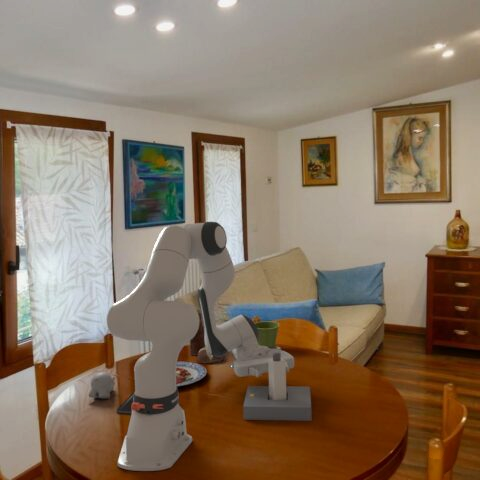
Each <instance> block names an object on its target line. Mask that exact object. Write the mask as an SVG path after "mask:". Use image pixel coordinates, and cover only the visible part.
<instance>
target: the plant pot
mask: <svg viewBox="0 0 480 480" xmlns="http://www.w3.org/2000/svg"><path fill="white" fill-rule="evenodd" d="M254 323H255V325H256V327H257V329H258V332H259V341H258V343H257V344H258V345H260V346H266V347H276V345H277V336H278V332H279V328H280V326H281V325H280V323H278V322H275V321H265V320H264V321H257V322H254Z"/></svg>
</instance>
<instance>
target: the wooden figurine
mask: <svg viewBox="0 0 480 480" xmlns="http://www.w3.org/2000/svg"><path fill="white" fill-rule="evenodd" d="M196 310H197V312H198V315H199V328H198V331H197V333H196V335H195V336H194V337H193V338H192V339H191V340H190V341H189V355H190V356H198V353H199V351H200V350H201V349H202V348H204V347H206V346H205V340H204V330H203V324H202V318H201V313H200V309H196Z"/></svg>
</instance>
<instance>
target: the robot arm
mask: <svg viewBox="0 0 480 480" xmlns="http://www.w3.org/2000/svg"><path fill="white" fill-rule="evenodd" d="M226 233H227V232H226V231H225V228H224V226H222V225H221V224H220V223H218V221H206V222H197V223H188V224H183V225H176V224H175V225H173V224H172V225H168V226H166V227H164V228H163V229H162V230H161V232H160V233H159V234H158V237H157V239H156V241H155V243H154V246H153V248H152V252H151V254H150V257H149V260H148V263H147V267H146V269H145V271H144V275H142V278H141V280H140V282H139V283H138V284H137V285H136V287H134V289H132V290H131V292H129V293H128V294H127V295H126V296H125V297H123V298H122V299H119V300H118V301H116V302H115V303H113V304H112V306H111V307H110V308H109V310H108V313H107V316H106V326H107V329H108V332H109V333H110V334H111V335H112V336H113V337H116V338H119V339H122V340H126V341H135V342H137V341H138V342H150V343H151V351H149V352H148V353H146V354H143V355H142V356H141V357H139V358H138V359H137V360H136V362H135V365H134V367H133V368H134V369H133V371H134V390H135V391H134V392H133V393H134V397H133V403H132V406H131V408H132V414H130V420H129V424H128V427H127V433H126V435H125V436H124V439H123V441H122V442H123V443H122V446H121V449H120V453H119V455H118V456H119V457H118V460H117V464H116V465H117V467H118V468H121V469H122V470H123V469H124V470H128V471H137V472H154V471H155V472H156V471H163V470H166V469H169V468H172V467H173V465H174V464H175V463H176V462H177V461H178V459H180V457H181V456H182V455H183V453H184V452H185V451H186V450H187V449H188V447H189V446H190V445H191V444H192V443H193V437H192V435H190V434H188V433H187V422H186V415H185V410H184V409H183V408H182V407H181V406H180V404H179V399H180V398H179V397H180V396H179V395H180V393H179V388H178V386H177V387H176V364H177V362H178V358H179V355H180V354H181V352H182V349H183V348H184V346H185V345H186V344H187V343H189V342H190V340H191V339H192V338H193V337H194V336H195V335H196V333H197V331H198V328H199V315H198V312H197V310H198V309H196V308H195V307H194V305H192V304H190V303H187V302H182V301H178V300H166V299H168V298H170V297H172V296H174V295H177V293H178V292H179V291H181V289H182V288H183V285H184V282H185V278H186V274H187V271H188V270H187V269H188V266H189V261H190V260H191V259H193V260H196V261H197V264H198V267H199V270H200V274H201V282H200V286H199V287H198V288H197V298H198V299H197V301H198V307H199V310H200V313H201V318H202V324H203V330H204V340H205V346H206V348H207V350H208V352H209V353H210V354H211V355H213V356H216V357H222V356H224V355H227V354H228V353H229V352H232V355H233V356H234V358H235V359H234V360H233V361H231V363H229V367H230V368H231V369H233V371H234V374H235V375H236V376H237V377H238V378H239V377H240V378H241V377H248V376H254V377H256V378H259V377H262V376H263V375H262V374H266V373H269V370H268V359H271V358H273V353H275V352H278V353H281V358H282V359H283V360H285V361H286V373H288V372H290V369H293V368H294V367H295V358H294V356H293V355H292V354H290V353H289V352H287V351H285V350H282V349H281V347H279V346H275V347H266V346H260V345H258V344H257V343H258V341H259V332H258V329H257V327H256V325H255V323H256V322H255V321H253V319H252V318H251V317H249V316H247V315H244V314H239V315H237V316H235V317H233V318H231V319H229V320H227V321H226V322H223V323H221V324H219V325H217V324H216V317H215V309H214V307H215V304H216V302H217V301H218V300H219V298H220V297H221V296H222V295H223V294H224V293H225V292H226V291H227V290H228V289H229V288H230V287H231V286H232V284H233V281H234V279H235V275H236V270H235V267H234V262H233V260H232V257H231V255H230V252H229V250H228V248H227V241H228V240H227V239H228V238H227V234H226Z"/></svg>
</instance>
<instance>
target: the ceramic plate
mask: <svg viewBox="0 0 480 480" xmlns="http://www.w3.org/2000/svg"><path fill="white" fill-rule="evenodd" d="M206 375H207V368H206V367H204V366H203V365H201V364H200V363H199V364H198V363H195V362H190V361H177V364H176V387H177V388H178V387H181V386H187V385H191V384H194V383H196V382H198V381H200V380H202V379H203V378H205V376H206Z"/></svg>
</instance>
